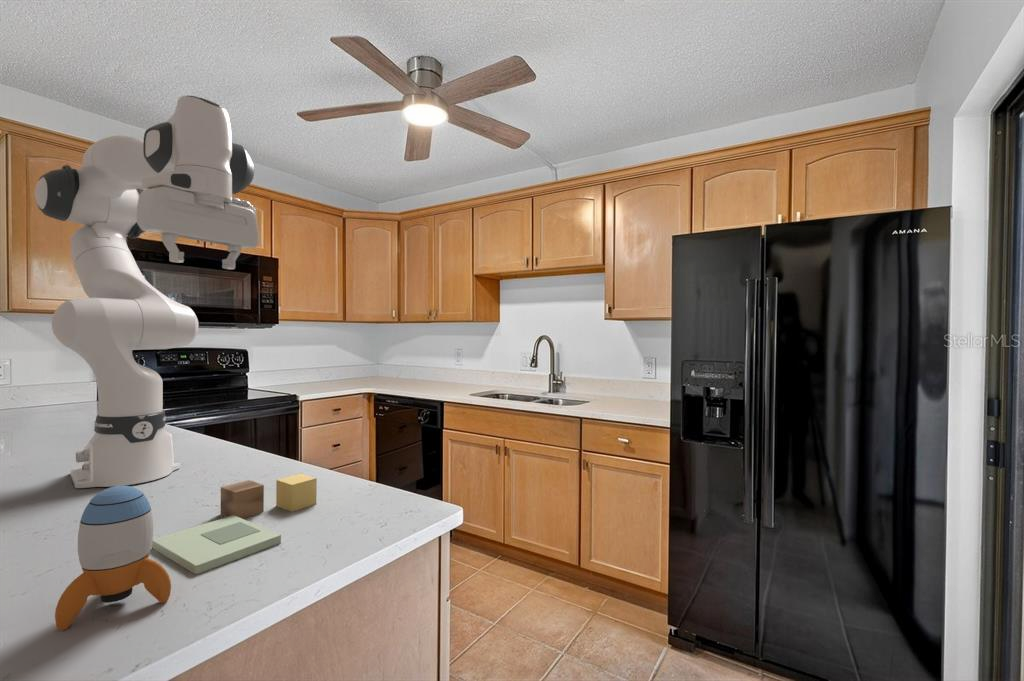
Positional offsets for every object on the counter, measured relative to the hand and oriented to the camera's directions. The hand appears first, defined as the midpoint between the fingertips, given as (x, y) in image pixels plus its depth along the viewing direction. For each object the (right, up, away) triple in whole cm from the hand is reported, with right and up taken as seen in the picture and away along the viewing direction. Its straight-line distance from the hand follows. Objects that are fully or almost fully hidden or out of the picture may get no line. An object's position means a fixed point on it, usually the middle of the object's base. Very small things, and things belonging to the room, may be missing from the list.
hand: (203, 265), depth 88 cm
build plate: (+11, -45, -14) cm, 48 cm away
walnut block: (+8, -45, -1) cm, 45 cm away
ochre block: (+16, -45, +3) cm, 47 cm away
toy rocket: (+10, -45, -30) cm, 56 cm away
